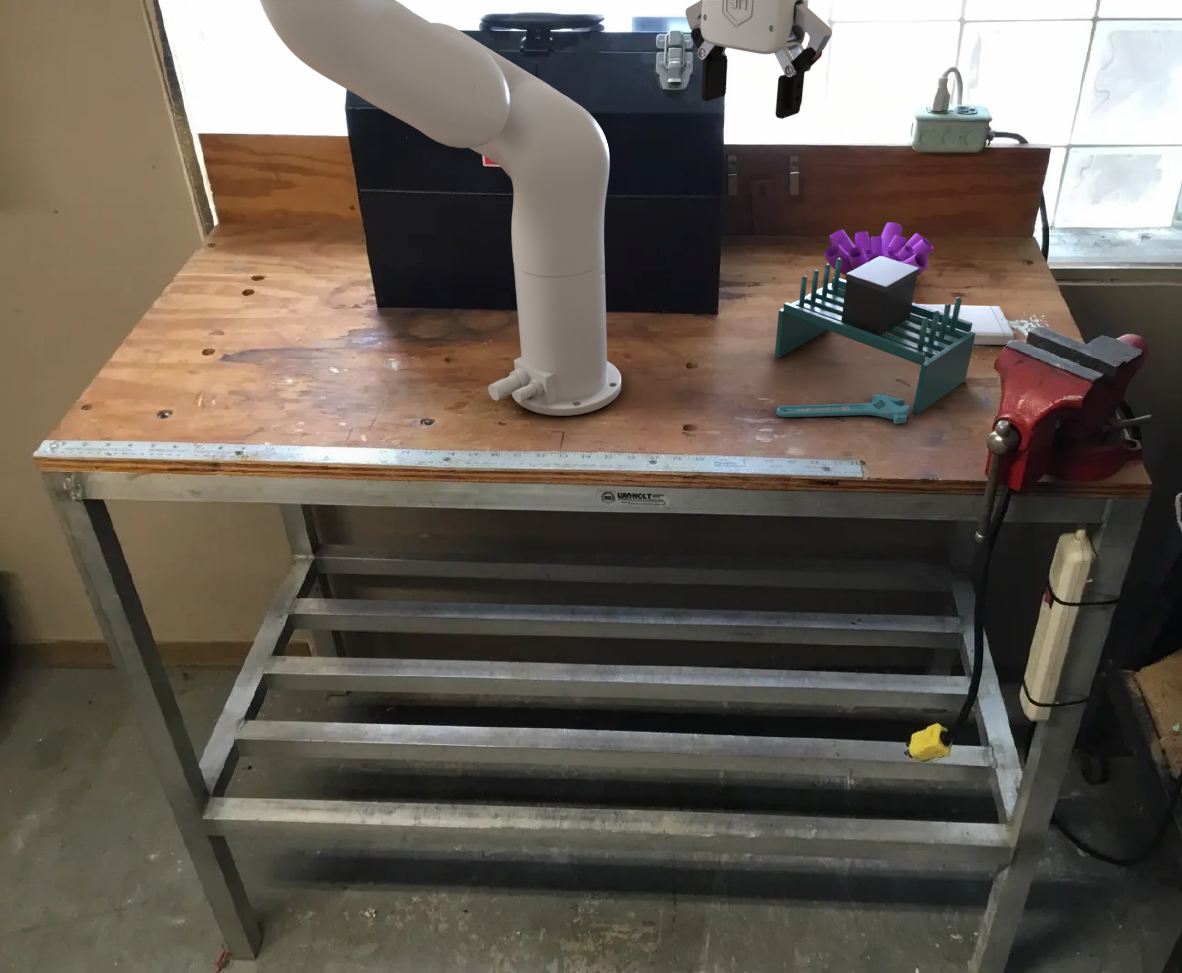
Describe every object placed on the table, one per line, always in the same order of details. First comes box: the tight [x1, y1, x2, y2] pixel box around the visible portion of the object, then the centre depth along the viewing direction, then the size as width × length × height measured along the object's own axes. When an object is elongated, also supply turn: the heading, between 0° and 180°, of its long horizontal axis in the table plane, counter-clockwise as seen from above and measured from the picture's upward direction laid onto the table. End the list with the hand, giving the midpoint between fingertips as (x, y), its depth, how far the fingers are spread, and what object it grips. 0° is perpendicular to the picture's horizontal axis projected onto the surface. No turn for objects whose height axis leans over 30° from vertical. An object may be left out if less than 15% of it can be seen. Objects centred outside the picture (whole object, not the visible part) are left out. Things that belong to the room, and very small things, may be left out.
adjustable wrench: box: [776, 393, 911, 425], centre depth 105 cm, size 14×1×5 cm
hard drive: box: [900, 303, 1015, 346], centre depth 120 cm, size 2×8×12 cm
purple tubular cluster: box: [824, 222, 934, 277], centre depth 131 cm, size 11×15×10 cm
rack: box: [774, 258, 976, 416], centre depth 111 cm, size 10×19×10 cm, turn 43°
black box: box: [841, 256, 920, 336], centre depth 108 cm, size 7×5×6 cm
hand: (749, 106), depth 101 cm, fingers open, 9 cm apart
